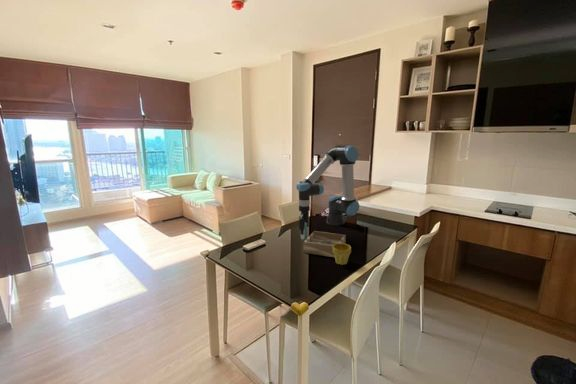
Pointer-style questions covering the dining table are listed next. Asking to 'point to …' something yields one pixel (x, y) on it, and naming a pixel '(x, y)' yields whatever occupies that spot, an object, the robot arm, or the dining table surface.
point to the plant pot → (341, 253)
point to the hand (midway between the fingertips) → (304, 236)
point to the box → (323, 243)
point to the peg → (305, 231)
